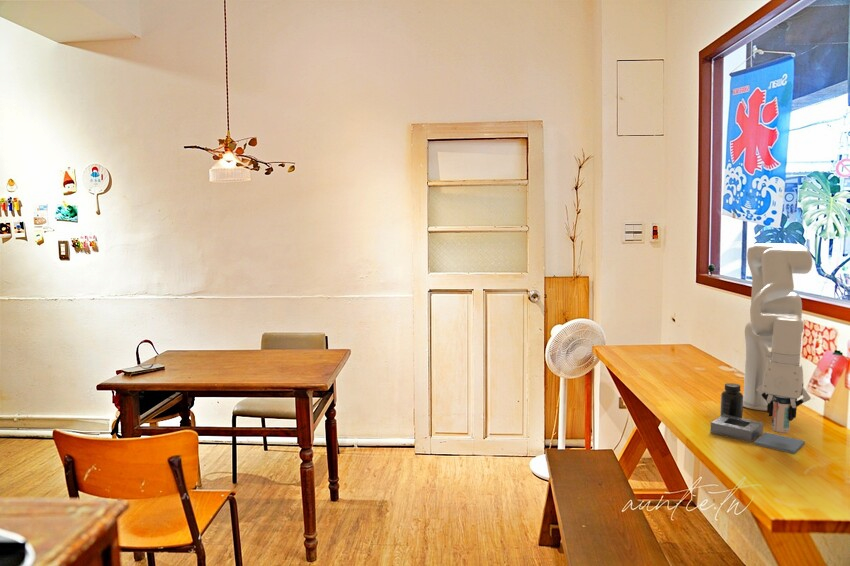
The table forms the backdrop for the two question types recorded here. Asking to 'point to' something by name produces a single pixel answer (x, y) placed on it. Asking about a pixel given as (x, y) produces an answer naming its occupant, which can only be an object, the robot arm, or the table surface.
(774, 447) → the mat
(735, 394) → the supplement bottle
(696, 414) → the table surface
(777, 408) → the beer can
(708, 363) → the table surface
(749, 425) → the gray square frame
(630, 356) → the table surface
